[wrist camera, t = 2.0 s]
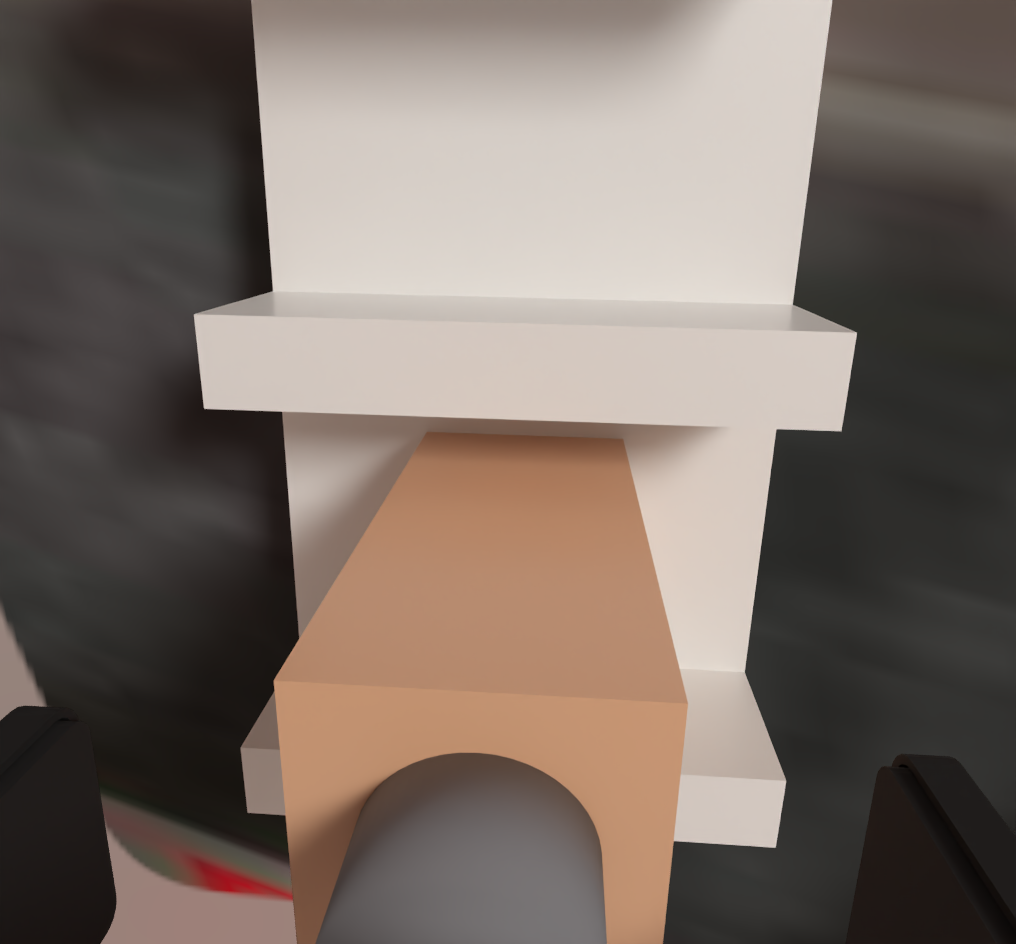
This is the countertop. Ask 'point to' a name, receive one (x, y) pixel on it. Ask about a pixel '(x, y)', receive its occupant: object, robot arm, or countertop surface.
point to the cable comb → (545, 294)
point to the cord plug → (487, 709)
